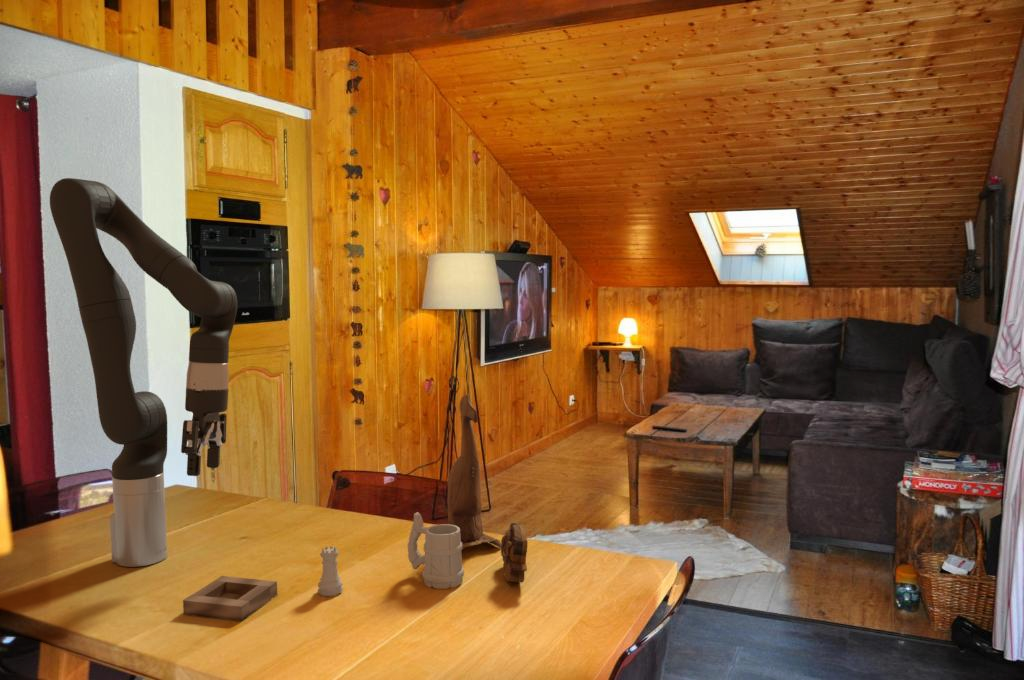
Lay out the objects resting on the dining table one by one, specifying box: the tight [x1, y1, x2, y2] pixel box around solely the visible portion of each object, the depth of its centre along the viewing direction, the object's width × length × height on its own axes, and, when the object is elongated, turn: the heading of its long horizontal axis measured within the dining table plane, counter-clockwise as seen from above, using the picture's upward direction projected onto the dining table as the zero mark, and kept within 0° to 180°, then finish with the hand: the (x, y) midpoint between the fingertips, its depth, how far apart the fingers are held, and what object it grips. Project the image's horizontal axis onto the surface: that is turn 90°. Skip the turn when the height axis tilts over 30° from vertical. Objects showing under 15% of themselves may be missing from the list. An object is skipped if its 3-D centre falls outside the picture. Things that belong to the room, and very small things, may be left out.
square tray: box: [182, 575, 278, 622], centre depth 139 cm, size 11×11×2 cm
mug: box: [407, 511, 465, 590], centre depth 150 cm, size 8×12×12 cm, turn 59°
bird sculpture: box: [447, 394, 501, 550], centre depth 166 cm, size 11×12×32 cm
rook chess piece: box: [317, 545, 344, 597], centre depth 144 cm, size 4×4×8 cm
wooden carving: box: [500, 522, 528, 583], centre depth 150 cm, size 16×5×10 cm, turn 12°
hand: (203, 471), depth 154 cm, fingers open, 8 cm apart
